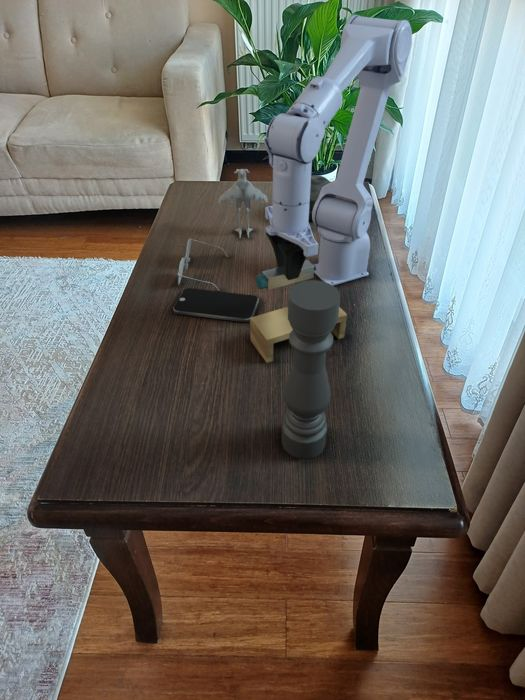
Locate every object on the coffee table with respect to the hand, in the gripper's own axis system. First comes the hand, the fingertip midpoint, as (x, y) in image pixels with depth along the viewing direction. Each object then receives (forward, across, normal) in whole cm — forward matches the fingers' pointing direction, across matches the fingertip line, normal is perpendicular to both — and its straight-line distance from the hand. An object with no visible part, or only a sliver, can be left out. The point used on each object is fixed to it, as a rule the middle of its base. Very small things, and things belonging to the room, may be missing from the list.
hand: (288, 273), depth 89 cm
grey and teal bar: (+1, 0, 0) cm, 1 cm away
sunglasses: (+9, -20, -9) cm, 24 cm away
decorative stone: (+9, -32, +23) cm, 40 cm away
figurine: (+9, -32, +5) cm, 33 cm away
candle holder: (+10, +27, -11) cm, 30 cm away
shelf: (+9, +6, -1) cm, 11 cm away
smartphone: (+9, -8, -10) cm, 16 cm away
